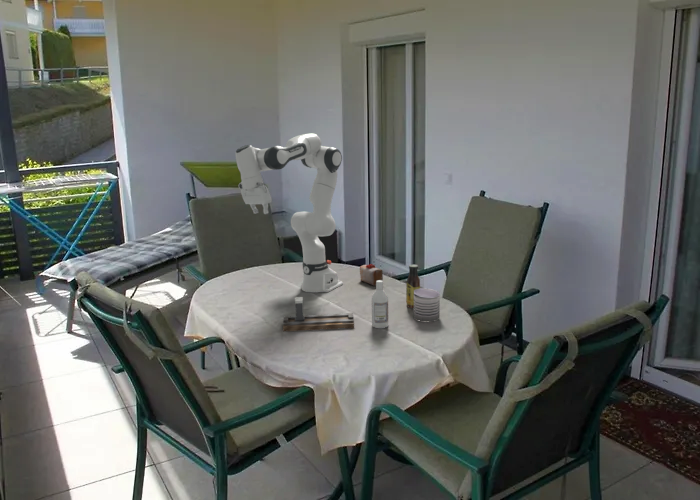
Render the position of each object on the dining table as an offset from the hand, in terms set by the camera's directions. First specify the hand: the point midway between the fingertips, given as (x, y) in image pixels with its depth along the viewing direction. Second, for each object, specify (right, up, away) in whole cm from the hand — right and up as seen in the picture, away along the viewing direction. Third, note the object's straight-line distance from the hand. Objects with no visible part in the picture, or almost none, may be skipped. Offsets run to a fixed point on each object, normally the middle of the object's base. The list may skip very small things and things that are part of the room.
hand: (261, 213), depth 282 cm
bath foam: (+52, -49, -9) cm, 72 cm away
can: (+73, -46, -1) cm, 86 cm away
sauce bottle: (+68, -42, +13) cm, 81 cm away
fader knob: (+18, -46, -7) cm, 50 cm away
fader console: (+26, -48, -6) cm, 55 cm away
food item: (+50, -33, +50) cm, 78 cm away
